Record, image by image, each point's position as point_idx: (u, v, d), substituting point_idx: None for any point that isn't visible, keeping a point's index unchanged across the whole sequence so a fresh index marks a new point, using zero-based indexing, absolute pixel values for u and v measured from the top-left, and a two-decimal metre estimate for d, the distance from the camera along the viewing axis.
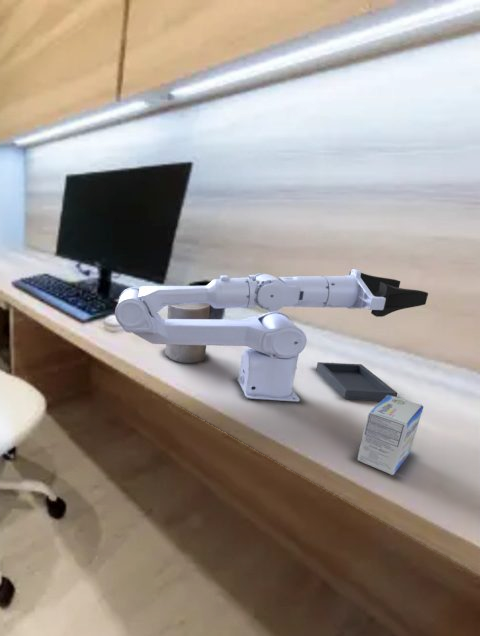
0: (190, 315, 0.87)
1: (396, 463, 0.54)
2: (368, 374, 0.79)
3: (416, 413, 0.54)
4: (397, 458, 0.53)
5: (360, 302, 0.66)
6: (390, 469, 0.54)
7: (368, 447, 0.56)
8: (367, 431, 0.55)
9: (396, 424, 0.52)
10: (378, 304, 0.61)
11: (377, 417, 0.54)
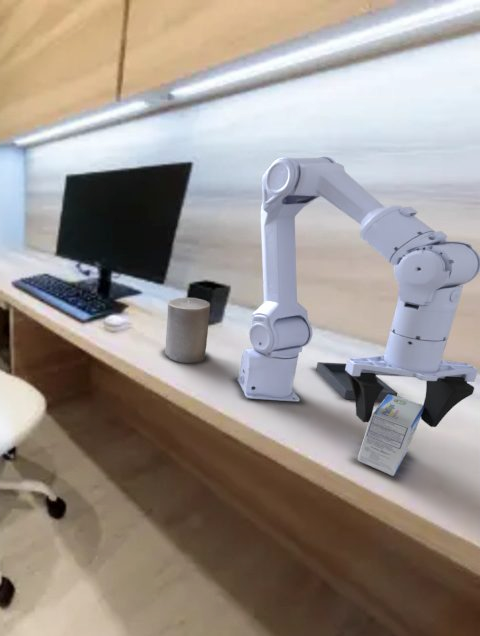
0: (190, 315, 0.87)
1: (397, 464, 0.53)
2: None
3: (418, 414, 0.53)
4: (398, 460, 0.53)
5: (378, 362, 0.55)
6: (390, 470, 0.54)
7: (369, 448, 0.55)
8: (369, 432, 0.55)
9: (400, 426, 0.52)
10: (349, 367, 0.55)
11: (381, 419, 0.53)
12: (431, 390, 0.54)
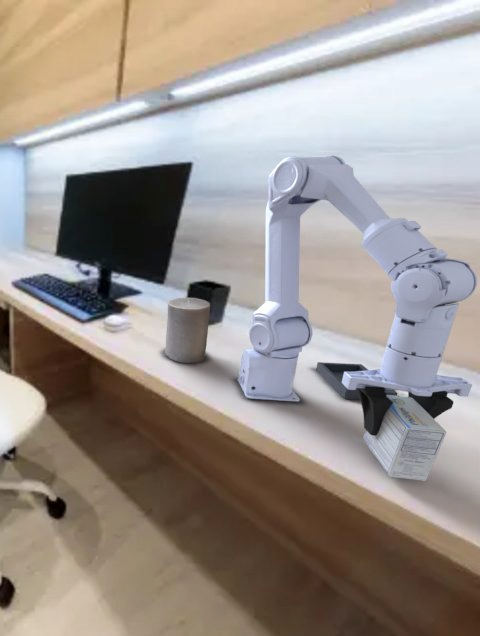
0: (190, 315, 0.87)
1: (429, 469, 0.51)
2: None
3: (425, 411, 0.52)
4: (432, 464, 0.51)
5: (374, 375, 0.55)
6: (423, 476, 0.51)
7: (402, 462, 0.51)
8: (403, 447, 0.51)
9: (436, 434, 0.49)
10: (345, 380, 0.55)
11: (417, 431, 0.49)
12: None
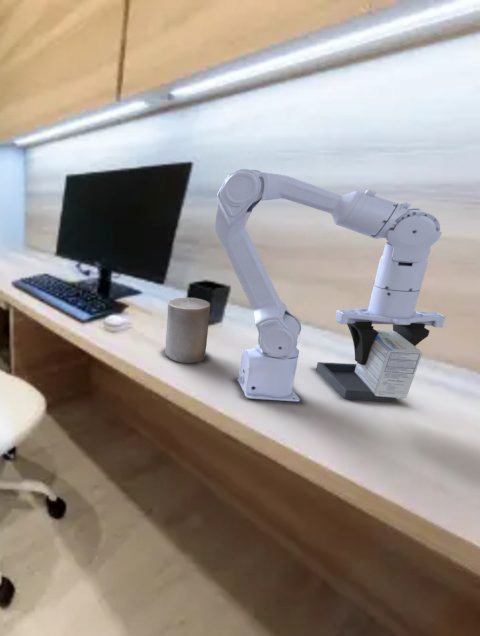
0: (190, 315, 0.87)
1: (409, 387, 0.60)
2: None
3: (406, 340, 0.62)
4: None
5: None
6: (404, 394, 0.61)
7: (386, 382, 0.61)
8: (387, 368, 0.60)
9: (413, 354, 0.58)
10: (338, 317, 0.65)
11: (397, 353, 0.59)
12: None
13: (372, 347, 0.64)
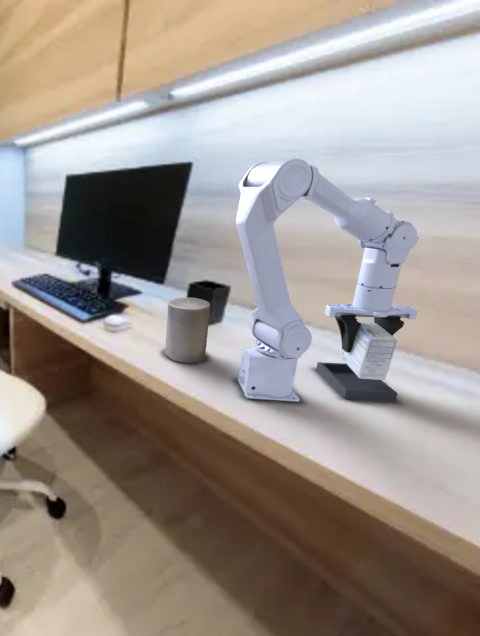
0: (190, 315, 0.87)
1: (387, 370, 0.71)
2: None
3: (384, 330, 0.72)
4: (388, 367, 0.70)
5: None
6: (383, 376, 0.71)
7: (368, 366, 0.71)
8: (368, 354, 0.70)
9: (390, 342, 0.69)
10: (327, 311, 0.75)
11: (377, 341, 0.69)
12: None
13: (356, 337, 0.74)
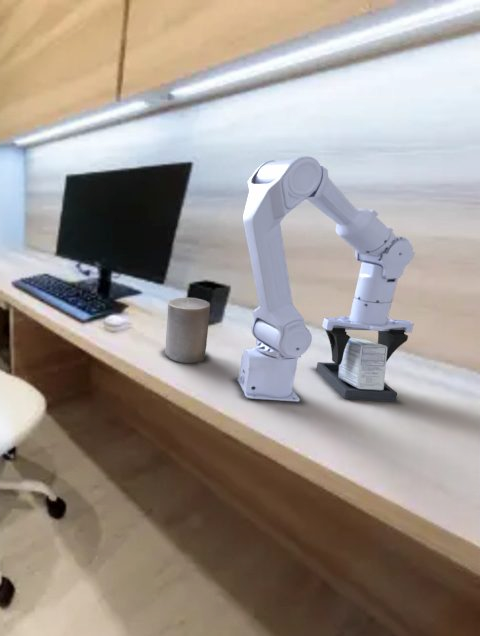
0: (190, 315, 0.87)
1: None
2: None
3: None
4: (384, 375, 0.72)
5: None
6: (381, 385, 0.72)
7: (364, 375, 0.72)
8: (362, 361, 0.72)
9: (381, 348, 0.71)
10: (324, 324, 0.76)
11: (368, 347, 0.72)
12: (381, 340, 0.76)
13: (348, 350, 0.77)
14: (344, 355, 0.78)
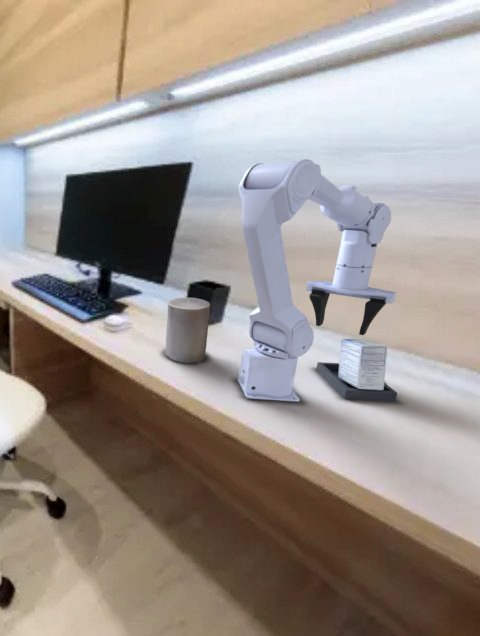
0: (190, 315, 0.87)
1: None
2: None
3: (373, 342, 0.75)
4: (384, 375, 0.72)
5: None
6: (381, 385, 0.72)
7: (364, 375, 0.72)
8: (362, 361, 0.72)
9: (381, 348, 0.71)
10: (394, 298, 0.72)
11: (368, 347, 0.72)
12: (322, 305, 0.81)
13: (348, 350, 0.77)
14: (344, 355, 0.78)
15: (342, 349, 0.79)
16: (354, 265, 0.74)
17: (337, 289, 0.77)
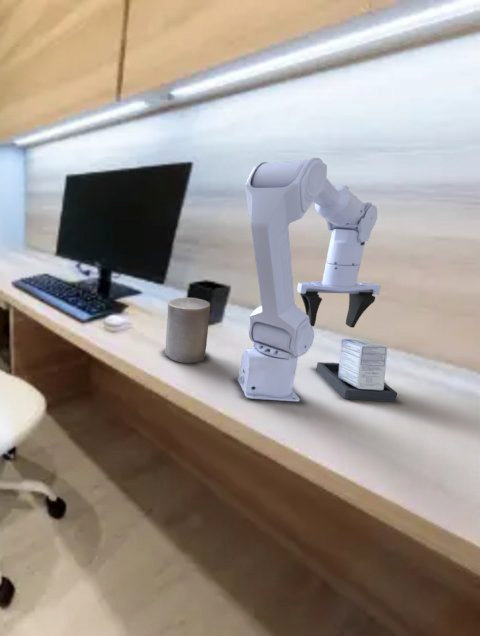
0: (190, 315, 0.87)
1: None
2: None
3: (373, 342, 0.75)
4: (384, 375, 0.72)
5: (357, 287, 0.78)
6: (381, 385, 0.72)
7: (364, 375, 0.72)
8: (362, 361, 0.72)
9: (381, 348, 0.71)
10: None
11: (368, 347, 0.72)
12: None
13: (348, 350, 0.77)
14: (344, 355, 0.78)
15: (342, 349, 0.79)
16: (345, 263, 0.76)
17: (338, 288, 0.77)
